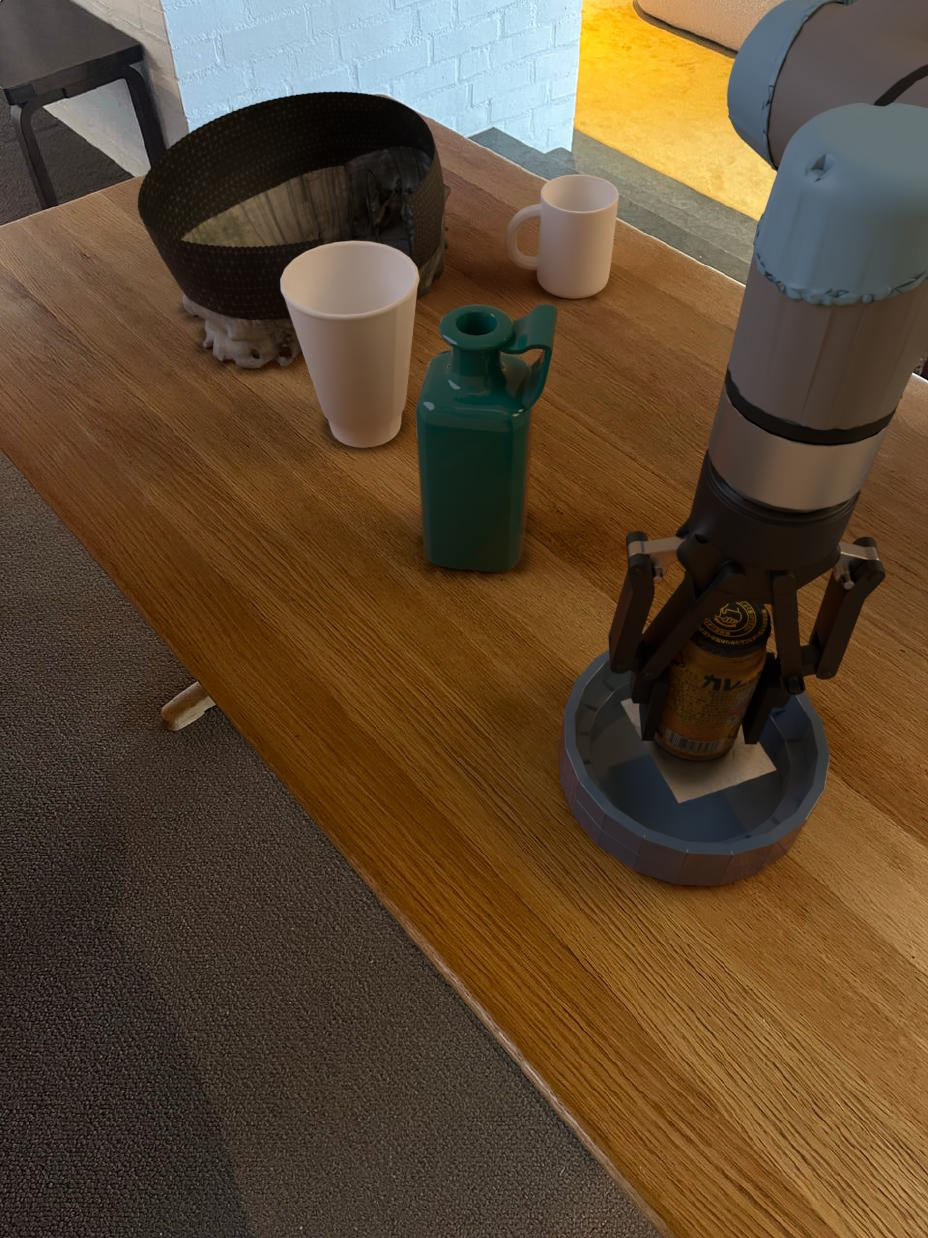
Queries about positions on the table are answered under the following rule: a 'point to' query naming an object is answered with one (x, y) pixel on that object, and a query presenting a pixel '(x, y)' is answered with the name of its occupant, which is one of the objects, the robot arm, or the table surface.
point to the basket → (289, 207)
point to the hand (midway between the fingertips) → (696, 725)
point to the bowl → (697, 828)
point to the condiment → (711, 705)
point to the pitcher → (480, 435)
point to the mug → (570, 235)
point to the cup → (355, 333)
